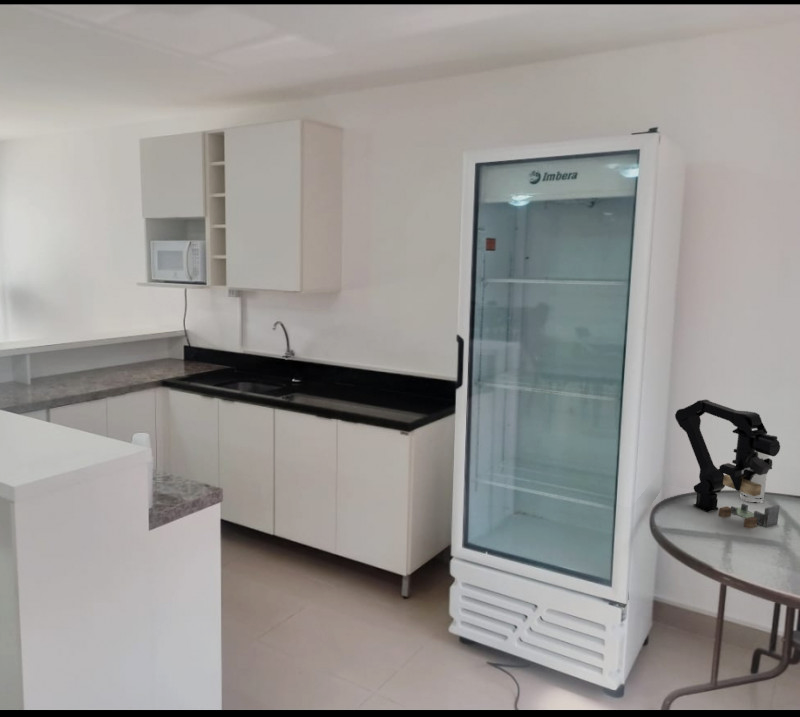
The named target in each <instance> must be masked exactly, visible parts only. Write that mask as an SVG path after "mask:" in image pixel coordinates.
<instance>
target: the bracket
mask: <svg viewBox="0 0 800 717" xmlns="http://www.w3.org/2000/svg"><path fill="white" fill-rule="evenodd" d="M730 508H732V509H731V514H732V515H736V516H739V517H741V518H743V519H744V520H745V519H746V518H749V517H754V518H756V519H757V525H759V526H760V527H765V528H769V527H772V526H775V525H776V526H777V525H778V521H779V514H780V505H778V504H776V505H772V506H768V507H766V508H764V513H762V512H760V511H758V510H755V511H754V512H752V511H749V505H748V504H745V503H741V507H739V506H737V507H736V506H733V505H732V506H730Z"/></svg>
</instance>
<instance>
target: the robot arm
mask: <svg viewBox="0 0 800 717" xmlns="http://www.w3.org/2000/svg"><path fill="white" fill-rule="evenodd" d="M705 413H706V414H709V415H712V416H713V417H716V418H720V419H723V420H725V421H728V422H729V423H731V424H732V425H733V426H734V427H736V428H735V429H733V430H732V433H733V434H737V443H736V448H734V449H733V453H735V459H732V462H731V463H729V462H727V463H722V464H721V465H719V468H717V466H716V465H715V464H714V462H713V459H712V457H711V454H710V451H709V449H708V447H707V446H708V445H707V444H706V441H705V439H704V436H703V434H702V431H701V421H702V420H701V416H703V415H705ZM674 417H675V420H676V422H677V424H678V426H679V427H680V428H681V430H684V432H685V433H686V435H687V438H688V440H689V443H690V446H691V448H692V451H693V454H694V456H695V459H696V462H697V463H698V464H697V465H698V467H699V475H698V478H699V482H698V483H697V484H695V485H694V486H693V490H694V493H696V501H695V503H693V504H692V507H695V508H697V509H699V510H701V511H704V512H706V513H709V512H713V511H717V510H719V508H720V507H718V493H721V491H722V490H723V489H724V488H725V487H726V485H723V479H724V475H730V477H731V479H732V482H733V484H734V487H735V489H734V490H735V491H736V492H740V491H739V490H740V487H741V482H742V478H743V479H746V480H749V481H751V479H752V478H753V476H754V475H756V474H758V475H762V474H767V475H768V473H769V471H770V470H772V469H773V459H772V458H770V457H775V456H777V455H778V454H779V453H780V451H781V445H780V444H781V443H780V441H779V440H778V436H776V435H771V434H768V430H767V428H766V427H765V425H764V423H763V421H762V417H761V415H760V413H757V412H754V411H748V410H736V409H733V408H731V407H728V406H724V405H721V404H720V403H716V402H712V401H710V400H709V399H699V400H697V401H696V402H694V403H693V404H690V405H688V406H686V407H684V408H679V409H677V410H676V413H675V414H674ZM756 428H757V429H758V430H753V429H756ZM756 451H757V452H756ZM758 452H760V453H763V454H766V455H769V458H767V459H764V460H763V459H760V458H759V457H758Z"/></svg>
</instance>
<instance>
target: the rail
mask: <svg viewBox="0 0 800 717" xmlns="http://www.w3.org/2000/svg"><path fill="white" fill-rule="evenodd" d="M723 485H725V487H728V488H730V489H731V488H732V489H734V490H736V489H735V487H734V484H733V482H732V479H731V477H730V475H727V474H724V479H723ZM738 492H740V493H741V492H744V493H747V494H749V495H752V496H757V495H760V494H761V485H760V484H757V483H754V482H752V481H749V480H746V479H743V478H742V482H741V487H740V490H739V491H738Z"/></svg>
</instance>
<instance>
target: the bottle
mask: <svg viewBox="0 0 800 717" xmlns="http://www.w3.org/2000/svg"><path fill="white" fill-rule="evenodd" d="M753 430H758V429H757V428H756V429H752V431H753ZM756 452H757V451H756ZM758 457H759V458H760V459H763V460H764V459H767V458H770V455H766V454H763V453H760V452H758ZM767 475H768V473H767V474H762V475H758V474H756V475H754V476H753V478H752V479H751V481H752V482H754V483H757V484H760V485H761V494H760V495H757V496H752V495H749V494H747V493H744V492H741V491H740V493H739V498H740V499H741V500H742V499H743V500H742V501H744V500H745V502H747V501H749V502H748V503H750V502H761V501H763V500H764V499H765V497H764V496H765V493H766V483H767V477H768V476H767ZM743 495H745V496H743ZM760 498H762V499H760ZM763 502H764V501H763Z"/></svg>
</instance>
